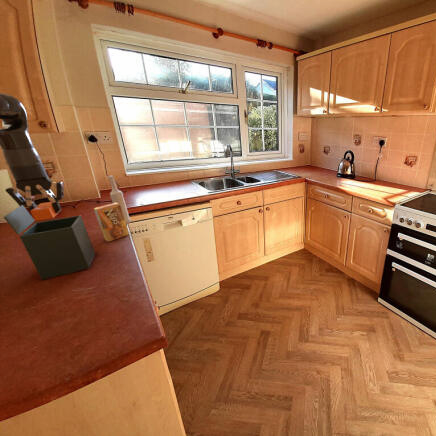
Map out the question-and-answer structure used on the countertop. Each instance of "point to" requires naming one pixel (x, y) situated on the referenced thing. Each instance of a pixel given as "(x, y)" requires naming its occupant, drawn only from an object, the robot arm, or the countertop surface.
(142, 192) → the countertop surface
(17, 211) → the flap
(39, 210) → the orange rectangular block
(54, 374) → the countertop surface
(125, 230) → the candy box
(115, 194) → the bottle
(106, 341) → the countertop surface
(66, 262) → the dark green open box
